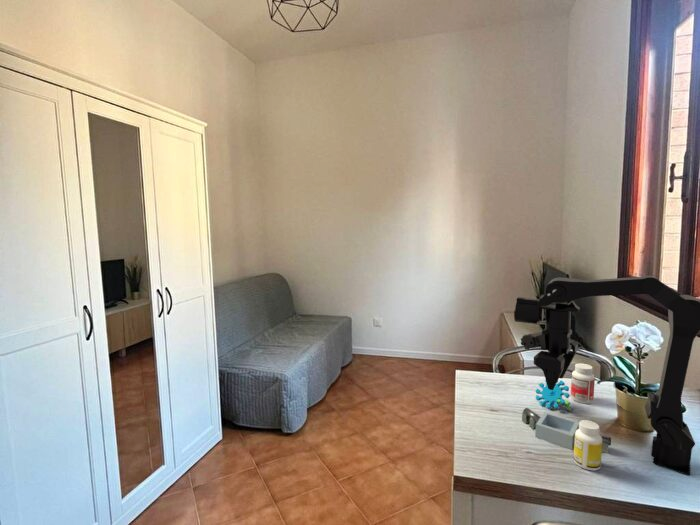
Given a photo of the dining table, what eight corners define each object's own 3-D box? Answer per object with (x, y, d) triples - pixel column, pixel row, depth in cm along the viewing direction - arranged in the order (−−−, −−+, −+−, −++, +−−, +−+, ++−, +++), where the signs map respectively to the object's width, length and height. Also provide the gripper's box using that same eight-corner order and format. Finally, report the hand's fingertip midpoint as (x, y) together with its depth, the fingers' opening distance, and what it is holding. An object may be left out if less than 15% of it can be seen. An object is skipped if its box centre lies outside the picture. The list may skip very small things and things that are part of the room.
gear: (527, 393, 120) (549, 371, 120) (536, 403, 122) (558, 381, 122) (553, 415, 110) (578, 391, 110) (563, 425, 112) (587, 401, 112)
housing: (578, 434, 100) (579, 422, 100) (571, 449, 94) (572, 436, 93) (544, 423, 106) (544, 411, 105) (535, 437, 99) (535, 424, 99)
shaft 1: (545, 429, 103) (545, 417, 102) (534, 430, 102) (535, 418, 102) (530, 418, 108) (531, 407, 108) (521, 420, 108) (521, 408, 107)
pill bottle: (585, 395, 122) (587, 362, 121) (597, 404, 116) (600, 369, 115) (566, 395, 122) (568, 362, 121) (577, 404, 116) (579, 370, 115)
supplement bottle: (603, 463, 88) (606, 424, 87) (597, 474, 85) (600, 433, 84) (577, 453, 92) (579, 415, 91) (570, 463, 89) (572, 424, 87)
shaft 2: (609, 447, 95) (610, 434, 94) (610, 454, 92) (611, 440, 91) (576, 439, 98) (577, 426, 98) (576, 445, 95) (577, 432, 95)
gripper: (535, 314, 111) (534, 365, 112) (513, 329, 97) (511, 387, 99) (579, 320, 103) (577, 375, 105) (561, 337, 89) (559, 399, 91)
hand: (555, 383), depth 100 cm, fingers open, 9 cm apart
